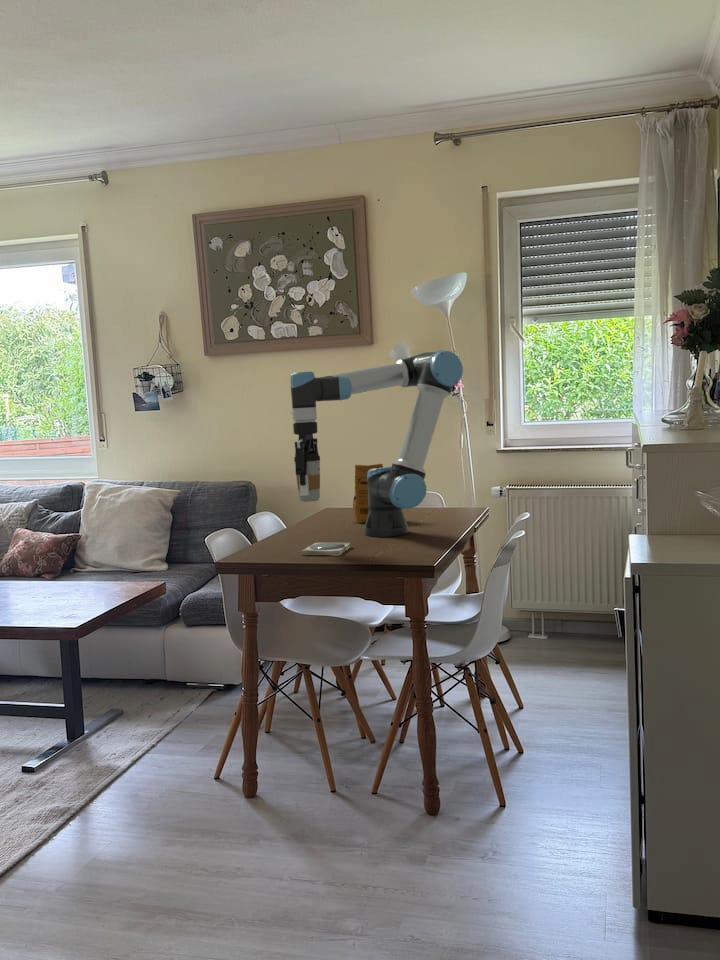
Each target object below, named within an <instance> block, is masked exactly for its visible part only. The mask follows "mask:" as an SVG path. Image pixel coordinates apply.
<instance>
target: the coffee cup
mask: <svg viewBox="0 0 720 960" xmlns="http://www.w3.org/2000/svg"><path fill="white" fill-rule="evenodd" d="M305 455H306V454H304V456H305ZM304 459H305V458H304ZM293 462H294V465H295V467H294V468H295V469H296V460H295V456H294V457H293ZM306 462H307V473H306V475H308V485H309V495H308V496H300V485H299V475H296V474H295V476H296V485H297V491H298V498H299V500H300V502H302V503H308V502H309V503H310V502H317V501H319V500H320V493H321V489H320V488H321V468H320V467H321V463H320V462H321V456H320V455H319V451H318V452H314V453H309V454H307V458H306Z"/></svg>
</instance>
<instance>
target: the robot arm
mask: <svg viewBox="0 0 720 960" xmlns="http://www.w3.org/2000/svg"><path fill="white" fill-rule="evenodd" d="M463 373H464V367H463V364H462V361H461V359H460V358H459V356H458V355H457V354H456V353H454V352H452V351H449V350H437V351H427V352H423V353H419V354H416V355H413V356H409V357H406V358H404V359H403V358H402V359H398V360H396V362H395V363H391V364H386V365H381V366H376V367H369V368H363V369H358V370H354V371H353V370H352V371H347V372H342V373H338V374H337V373H335V374H332V375H325V376H319V377H316V376H315V373H314V371H298V372H297V371H295V372H292V373H291V374H290V394H291V395H290V396H291V404H292V405H291V406H292V407H291V408H292V411H291V415H292V420H293V421H294V422H293V424H292V428H293V434H294V435H297V436H298V439H297V441H294V448H295V450H294V451H295V454H294V457H295V460H296V468H295V476H296V475H299V485H300V496H308V495H309V485H308V475H306V473H307V462H306V458H307V454H309V453H314V452H318V453H319V450H318V438H316V437H314V434H318V432H319V431H318V430H319V429H318V422H317V421H316V420H318V415H317V414H318V413H317V402H331V401H333V402H334V401H335V402H336V401H345V400H349V399H350V398H351V397H352V395H355V394H361V393H366V392H367V393H368V392H370V391H371V392H372V391H376V390H377V391H378V390H382V389H388V388H392V387H398V386H399V387H401V388H409V387H417V389H418V391H419V392H418V395H417V398H416V402H415V405H414V408H413V412H412V415H411V417H410V418H411V419H410V421H409V425H408V427H407V431H406V435H405V437H404V440H403V443H402V447H401V451H400V454H399V457H398V459H397V460H395V461H394V462H392V465H391V466H385V467H384V466H383V468H375V469H370V470H369V471H368V473H367V484H368V504H369V513H368V517H367V521H366V523H364V525H365V526H364V535H366V536H368V537H376V538H377V537H398V536H403V535H406V534H408V533H409V525H408V523H407V520H406V518H405V515H404V512H403V510H404V509H405V510H406V509H408V510H409V509H413V508H416V507H417V506H419V505H420V504H421V503H422V502H423V501H424V499H425V498H426V495H427V489H428V487H427V485H426V482H425V478H426V475H427V472H426V470H425V468H424V466H425V461H426V459H427V455H428V453H429V449H430V446H431V442H432V440H433V436H434V434H435V431H436V430H435V429H436V426H437V422H438V419H439V417H440V413H441V410H442V406H443V404H444V400H445V399H447V398H448V397H450V396H451V392H452V390H453V387H454V386H455V385H457V384H458V383H459V382H460V381H461V379H462V376H463ZM304 454H306V455H305V456H304ZM304 458H305V459H304Z"/></svg>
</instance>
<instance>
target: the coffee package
mask: <svg viewBox="0 0 720 960" xmlns="http://www.w3.org/2000/svg"><path fill="white" fill-rule="evenodd" d="M375 468H384V466H383V463H376V464H375V463H374V464H370V465H366V464H365V465H364V464H355V465H354V496H353V500H352V509H353V510H352V511H353V517H354V521H353V522H354V523H355V524H366V521H367V517H368V513H369V504H368V484H367V473H368V471H369V470H370V469H375Z"/></svg>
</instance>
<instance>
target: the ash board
mask: <svg viewBox="0 0 720 960" xmlns="http://www.w3.org/2000/svg"><path fill="white" fill-rule="evenodd" d="M352 546H353V545H352V542H321V541H320V542H314V543H312V544H310V545H309V546H307V547H306V548H304V549H302V550H301V556H302V555H330V556H329V557H339V555H340V556H341V555H343V554H344V553H345V551H346V550H347V551H348V549H349V548H350V549H351V547H352ZM350 549H349V550H350ZM347 551H346V552H347ZM343 552H344V553H343ZM342 553H343V554H342ZM331 555H332V556H331Z"/></svg>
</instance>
